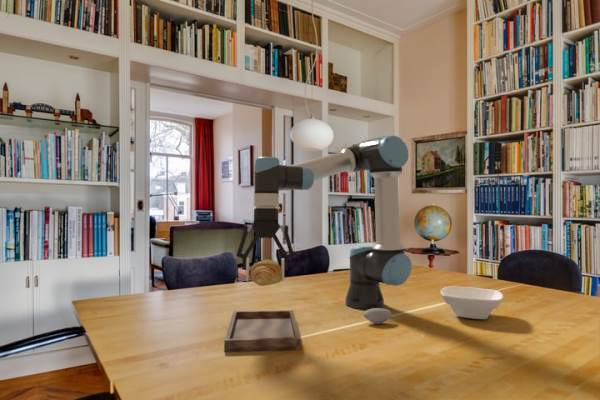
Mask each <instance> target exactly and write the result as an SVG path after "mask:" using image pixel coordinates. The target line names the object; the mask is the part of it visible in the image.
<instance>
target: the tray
mask: <svg viewBox="0 0 600 400" xmlns="http://www.w3.org/2000/svg"><path fill="white" fill-rule="evenodd" d="M299 331H300V330H299V327H298V324H297V320H296V317H295V312H294V310H293V309H291V310H290V309H288V310H287V309H285V310H284V309H283V310H281V309H280V310H279V309H278V310H236V311H235V310H234V311H232V314H231V317H230V321H229V324H228V327H227V331H226V334H225V338H224V347H223V352H225V353H226V352H227V353H229V352H265V351H266V352H268V351H271V352H272V351H273V352H274V351H301V346H302V345H301V340H302V339H301V335H300V332H299Z"/></svg>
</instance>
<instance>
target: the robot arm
mask: <svg viewBox="0 0 600 400" xmlns="http://www.w3.org/2000/svg"><path fill="white" fill-rule="evenodd" d="M408 160H409V149H408V146H407V144H406V143H405V141H403V139H402V138H400V137H399V136H397V135H384V136H381V137H377V138H372V139H366V140H363V141H361V142H359V143H356V144H354V145H351V146H349V147H345V148H342V149H341V150H340V151H339V152H337V153H333V154H329V155H325V156H320V157H318V158H317V157H316V158H313V159H309V160H305V161H302V162H298V163H295V164H294V163H293V164H291V165H283V164H281V163H280V159H279V158H278V157H274V156H260V157H257V158H256V159H255V160H254V161H255V162H254V172H253V173H254V190H253V191H254V194H253V195H254V196H253V206H254V207H255V208H254V209H253V223H252V224H244V225H243V227H242V229H243V233H242V237H241V239H240V242H239V246H238V249H237V252H236V257H237V258H241V259H242V270H244V271H245V281H246V282H249V280H250V276H249V270H250V258H248V256H249V255H250V253H251V251H252V250H253V248H254V247H255V245H256V243H257V241H258V240H259V238H261V239H265V238H266V239H272V238H273V241H274V243H275V244H276V246H277V248H278V249H279V251H280V253H281V254H282V257H283V258H281V265H280V267H281V270H282V279H281V282H284V281H285V270H288V268H289V259H291V258H294V256H295V253H294V249H293V246H292V243H291V238H290V236H289V225H287V224H286V225H280V223H279V209H278V207H279V197H280V195H279V192H280V191H291V190H293V191H295V190H296V191H297V190H298V191H299V190H300V191H306V190H307V191H308V190H310V189H311V188H312V187H313V186H314V182H315V181H316V180H320V179H323V178H328V177H330V176H335V175H339V174H341V173H344V172H346V173H348V174H350V173H353V172H354V173H355V172H360V171H369V175H370V176H371V177H372V178H373V182H374V211H375V212H374V215H375V217H374V218H375V244H374V245H372V246H357V247H351V249H350V251H349V286H348V289H347V293H346V295H345V298H344V299H345V301H344V302H345V305H346V306H347V307H350V308H354V309H361V310H369V309H373V308H381V309H382V308H383V307H384V306H385V299H384V296H383V292H382V290H381V286H380V284H385V285H388V286H394V287H395V286H401V285H403V284H404V283H406V281H407V280H408V279H409V277H410V275H411V273H412V269H413V266H412V260H411V259H410V257H409V256H408V255H407V254H405V246H404V245H402V244H401V237H400V236H401V234H400V208H399V206H400V205H399V204H400V203H399V201H400V198H399V177H400V175H402V173H403V167H404V166H405V165H406V164H407V162H408ZM251 230H253V232H254V233H255V235H254V237H253V238H252V240H251V242H250V243H249V245H248V246H247V248H246V250H245V252H244V253H242V252H243V249H244V247H245V243H246V240H247V237H248V233H249V232H250V231H251ZM279 230H280V231H281V233H283V236H284V240H285V242H286V247H287V249H288V253H287V252H286V250H285V248H284V247H283V245H282V242H280V239H279V238H278V236H277V233H278V231H279Z"/></svg>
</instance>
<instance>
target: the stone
mask: <svg viewBox="0 0 600 400" xmlns="http://www.w3.org/2000/svg"><path fill="white" fill-rule="evenodd" d="M362 315H363V317H364V319H366V320H368V321H369V322H370V323H372V324H376V325H381V324H383V323H385V322H387V321H389V319H390V318H391V317H392V312H391V310H389V309H387V308H382V307H381V308H373V309H366V310H365V311H364V312H363V313H362Z"/></svg>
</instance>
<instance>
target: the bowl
mask: <svg viewBox="0 0 600 400" xmlns="http://www.w3.org/2000/svg"><path fill="white" fill-rule="evenodd" d="M440 295H441V297H442V299H443V301H444V303H446V304H447V305H449V306H450V309H452V312H453V313H454V315H455V316H456V317H460V318H466V319H474V320H487V319H488V317H489V316H490V315H491V314H492V312H493V310H495V309H498V308H499V306H500V304H501V303H502V302H503V300H504V295H503V293H502V292H501V291H499V290H496V289H490V288H481V287H473V286H472V287H469V286H455V285H454V286H452V285H448V286H444V287H443V288H441V290H440Z"/></svg>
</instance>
